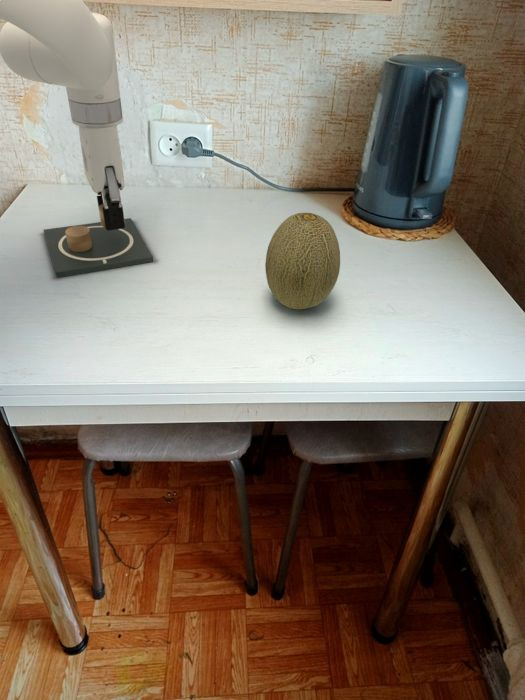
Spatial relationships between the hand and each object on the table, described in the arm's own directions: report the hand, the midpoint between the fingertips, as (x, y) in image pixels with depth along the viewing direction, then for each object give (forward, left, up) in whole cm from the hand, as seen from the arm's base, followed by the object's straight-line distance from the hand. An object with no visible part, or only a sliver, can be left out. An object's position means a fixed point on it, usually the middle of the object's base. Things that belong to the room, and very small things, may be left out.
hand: (112, 221), depth 88 cm
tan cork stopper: (0, 0, 0) cm, 0 cm away
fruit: (+23, -27, -5) cm, 36 cm away
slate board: (-3, +1, -5) cm, 6 cm away
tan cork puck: (-6, 0, -4) cm, 7 cm away
